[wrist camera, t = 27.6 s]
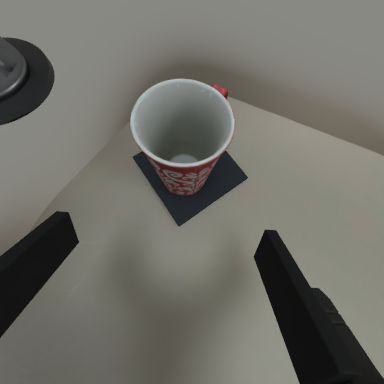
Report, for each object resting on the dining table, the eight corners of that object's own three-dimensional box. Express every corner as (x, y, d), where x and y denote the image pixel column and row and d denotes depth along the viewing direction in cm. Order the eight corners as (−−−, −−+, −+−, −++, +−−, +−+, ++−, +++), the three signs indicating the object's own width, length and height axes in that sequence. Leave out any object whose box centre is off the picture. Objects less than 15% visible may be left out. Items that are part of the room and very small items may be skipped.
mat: (133, 158, 28) (132, 156, 27) (199, 120, 31) (199, 118, 30) (179, 226, 25) (178, 226, 25) (246, 178, 28) (248, 177, 27)
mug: (189, 213, 25) (195, 188, 12) (144, 180, 26) (106, 125, 13) (232, 155, 28) (273, 86, 15) (190, 128, 29) (196, 42, 16)
